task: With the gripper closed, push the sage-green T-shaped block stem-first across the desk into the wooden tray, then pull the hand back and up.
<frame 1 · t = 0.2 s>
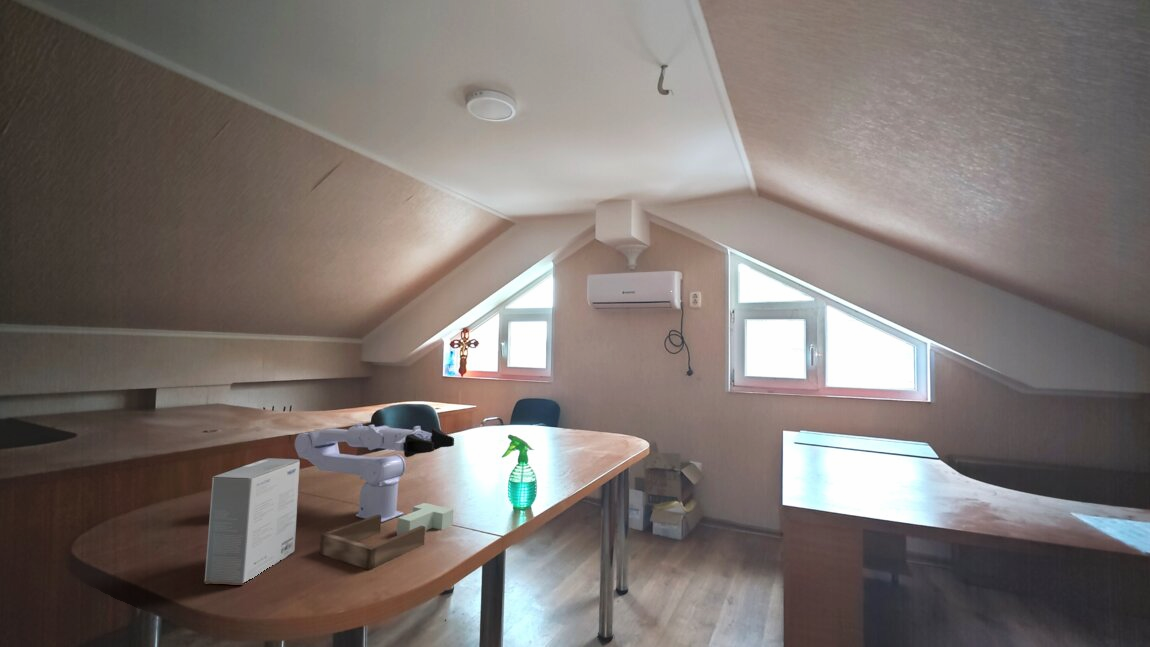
hand: (443, 444, 118), 21 cm above the table, tool horizontal, fingers open, 7 cm apart
wooden tray: (375, 547, 104), on the table
hard drive box: (252, 568, 93), on the table
t block: (421, 528, 117), on the table
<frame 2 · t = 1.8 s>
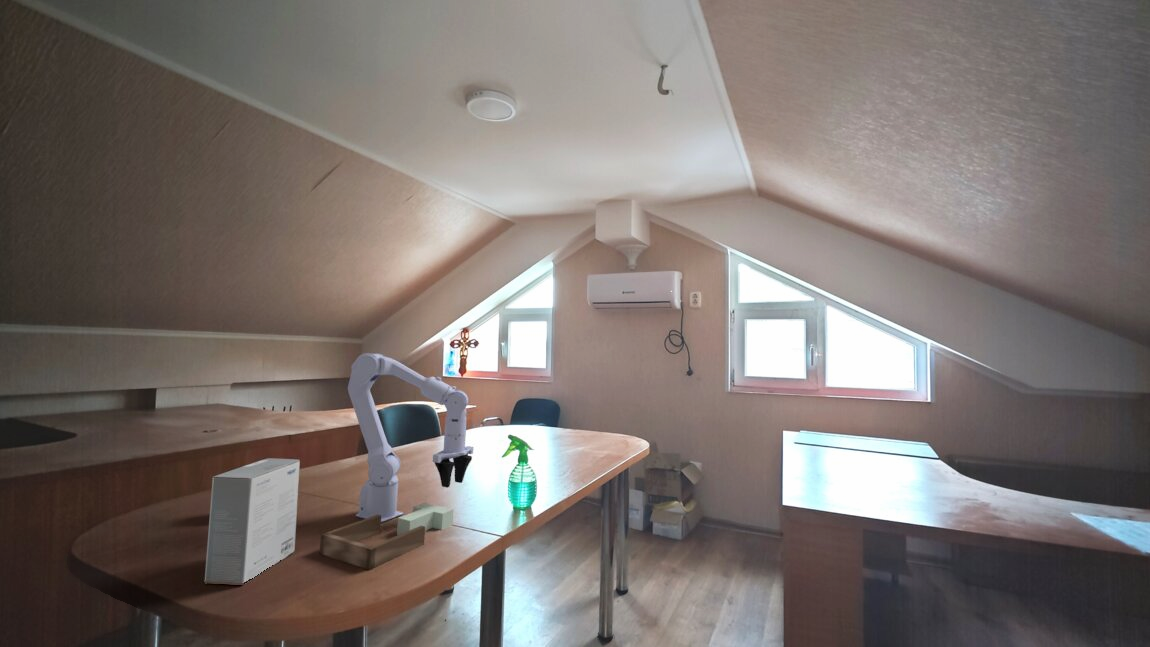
hand: (452, 484, 127), 8 cm above the table, tool pointing down, fingers open, 5 cm apart
nothing on the table moved.
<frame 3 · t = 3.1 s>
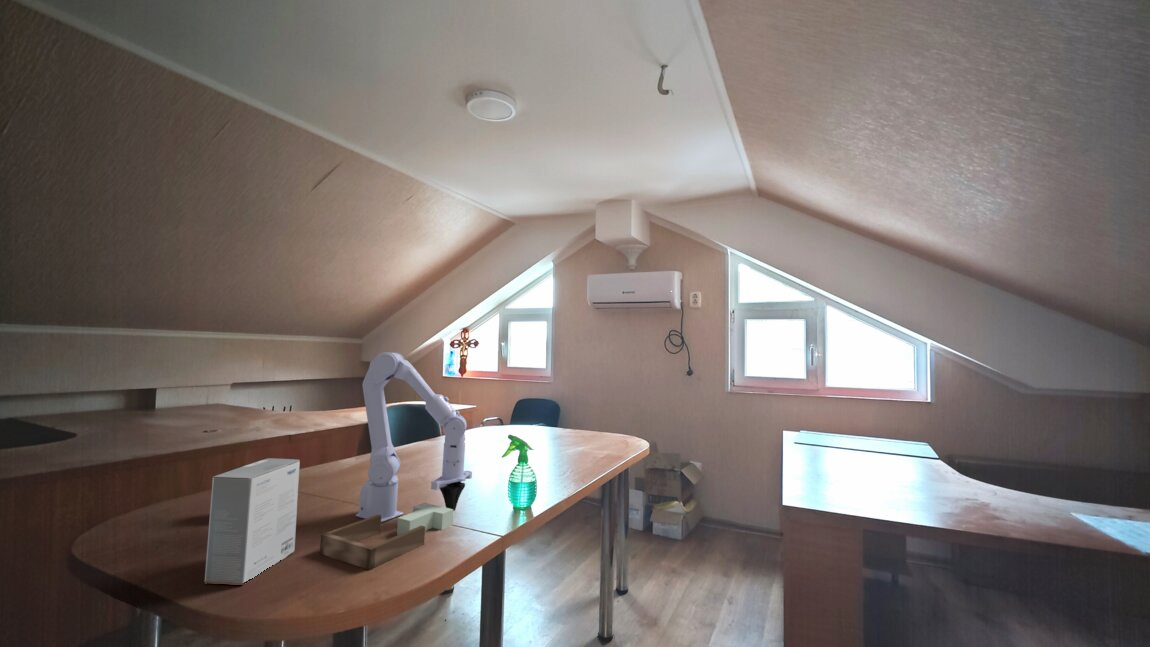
hand: (450, 510, 127), 1 cm above the table, tool pointing down, fingers closed
nothing on the table moved.
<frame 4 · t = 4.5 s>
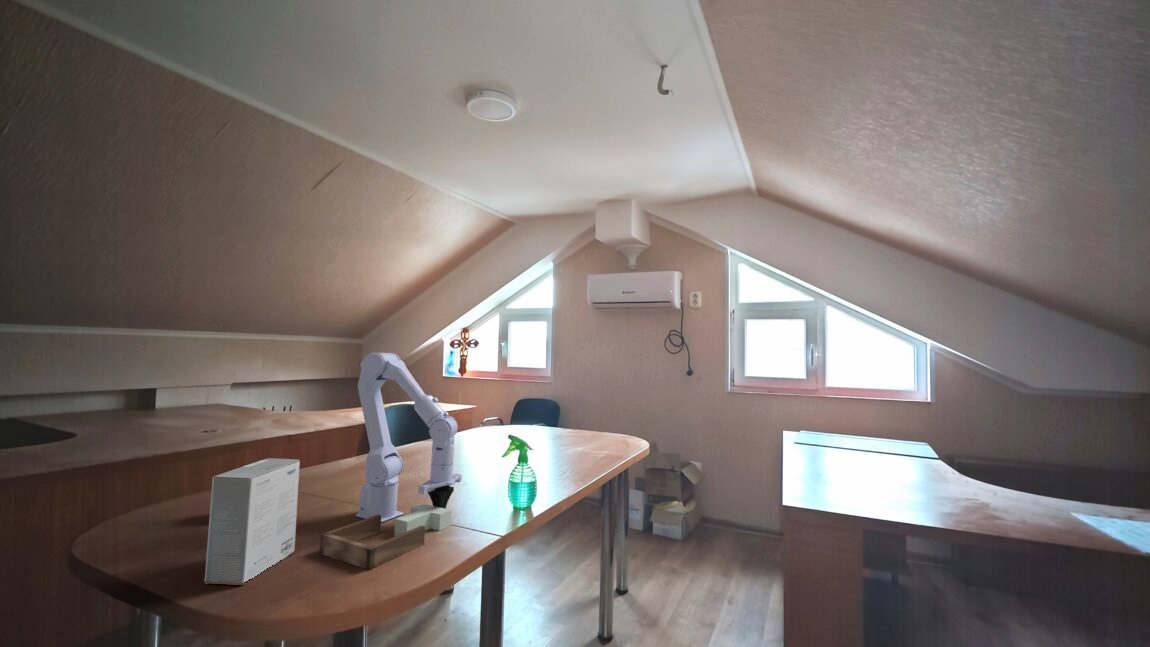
hand: (439, 515, 123), 1 cm above the table, tool pointing down, fingers closed
t block: (418, 529, 116), on the table, touching gripper
everything else where it was.
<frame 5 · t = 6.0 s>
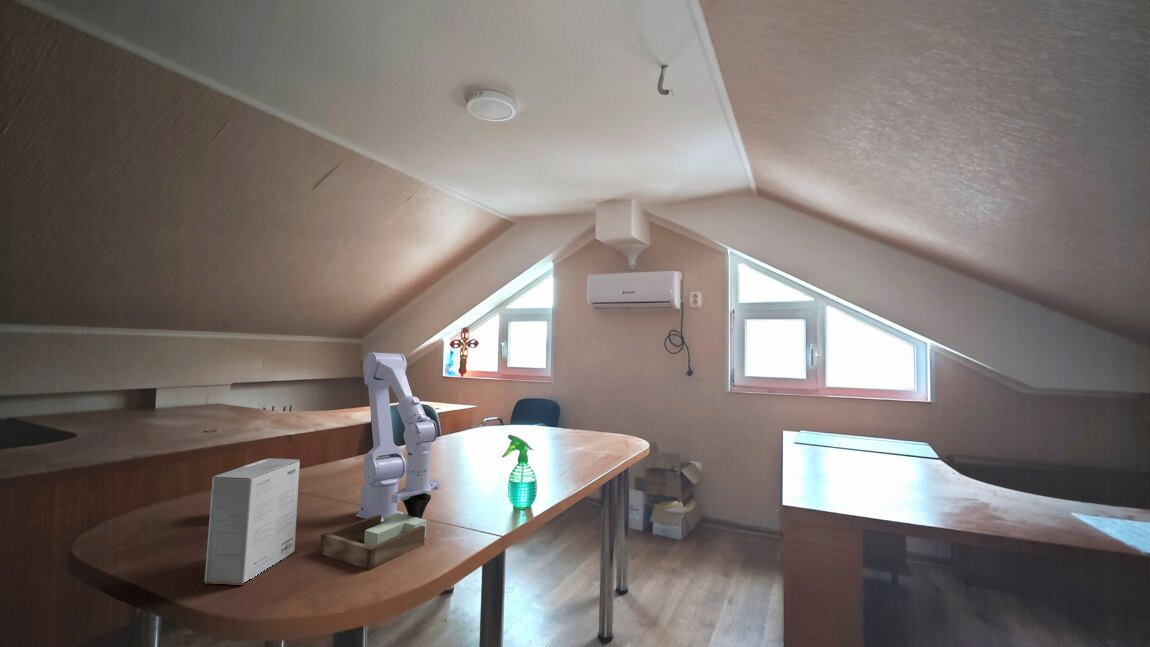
hand: (414, 525, 115), 1 cm above the table, tool pointing down, fingers closed
t block: (391, 541, 108), on the table, touching gripper
everything else where it was.
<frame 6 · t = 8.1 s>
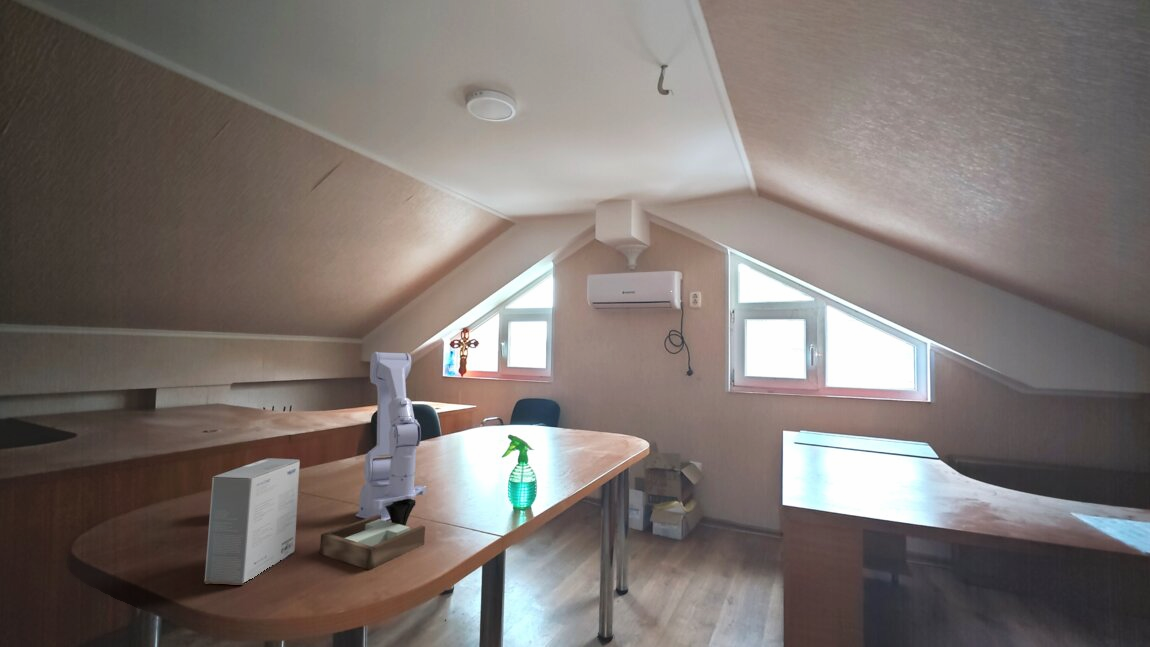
hand: (398, 532, 110), 1 cm above the table, tool pointing down, fingers closed
t block: (372, 549, 103), on the table, touching gripper
everything else where it was.
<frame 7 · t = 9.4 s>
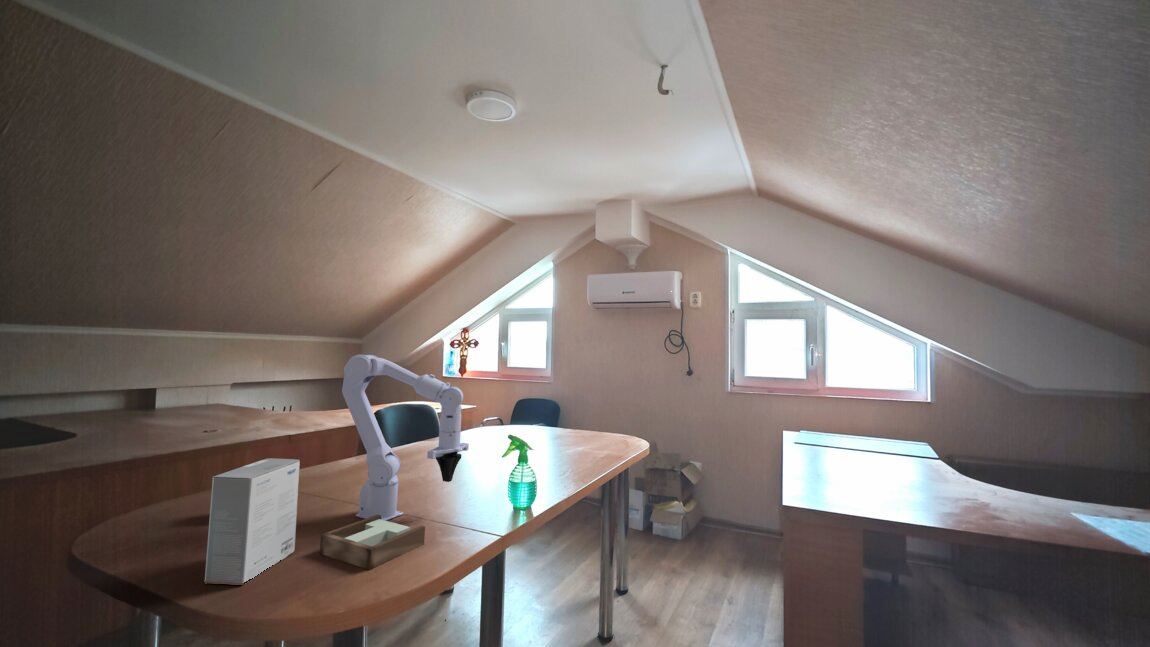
hand: (447, 481, 127), 9 cm above the table, tool pointing down, fingers closed
t block: (372, 549, 103), on the table
everything else where it was.
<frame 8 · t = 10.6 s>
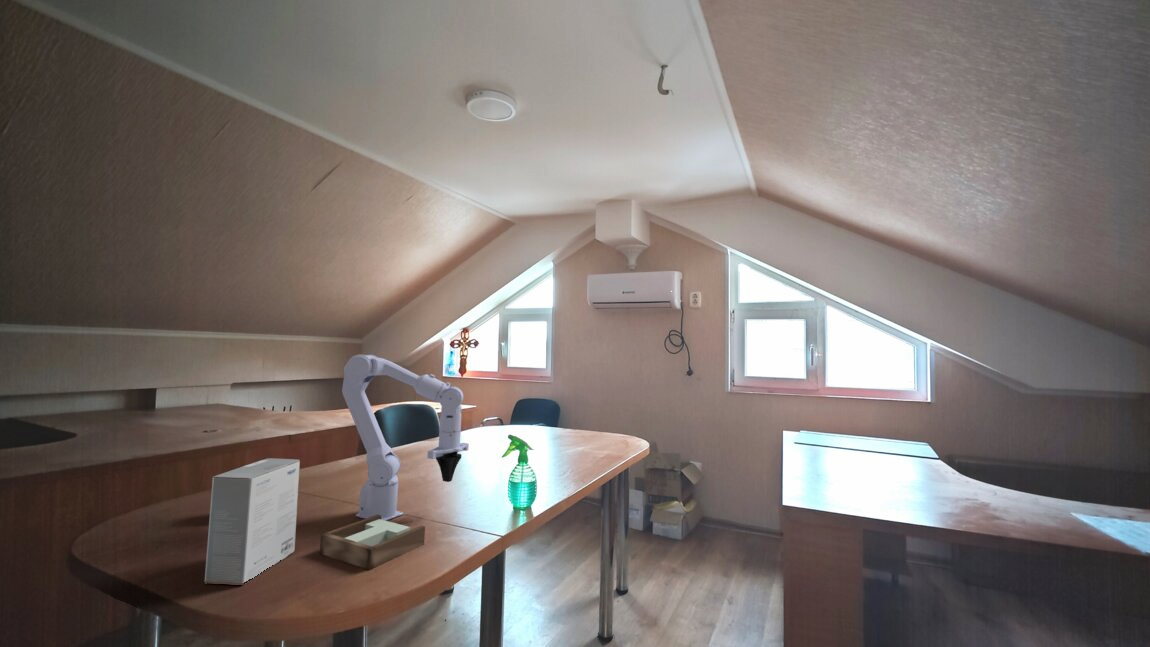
hand: (447, 481, 127), 9 cm above the table, tool pointing down, fingers closed
nothing on the table moved.
at the end: t block inside the target area (0.4 cm from its centre), on the table; t block tilted 0° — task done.
